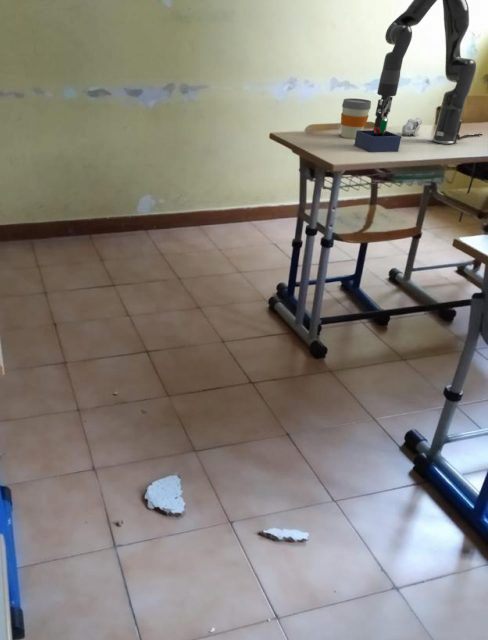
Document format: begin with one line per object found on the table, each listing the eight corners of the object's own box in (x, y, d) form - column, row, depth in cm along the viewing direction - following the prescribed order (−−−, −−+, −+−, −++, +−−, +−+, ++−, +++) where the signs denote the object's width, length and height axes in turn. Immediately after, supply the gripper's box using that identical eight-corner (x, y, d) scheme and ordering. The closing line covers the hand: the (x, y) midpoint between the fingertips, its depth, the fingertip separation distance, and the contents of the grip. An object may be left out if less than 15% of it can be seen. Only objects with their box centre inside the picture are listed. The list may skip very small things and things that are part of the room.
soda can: (382, 148, 255) (388, 118, 249) (370, 147, 256) (376, 117, 249) (381, 146, 259) (388, 116, 253) (369, 145, 260) (375, 115, 253)
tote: (381, 144, 265) (384, 130, 262) (398, 151, 254) (401, 136, 251) (354, 145, 262) (356, 130, 258) (369, 152, 251) (372, 137, 248)
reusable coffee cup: (340, 139, 272) (346, 102, 263) (334, 133, 282) (340, 97, 274) (368, 139, 272) (375, 103, 264) (360, 134, 283) (367, 98, 274)
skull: (396, 128, 283) (409, 108, 283) (400, 142, 289) (414, 122, 290) (410, 130, 278) (424, 109, 278) (415, 144, 284) (429, 123, 285)
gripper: (394, 84, 237) (384, 129, 246) (402, 81, 248) (393, 124, 257) (375, 82, 240) (366, 126, 249) (384, 79, 250) (375, 122, 260)
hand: (380, 125), depth 253 cm, fingers open, 8 cm apart
